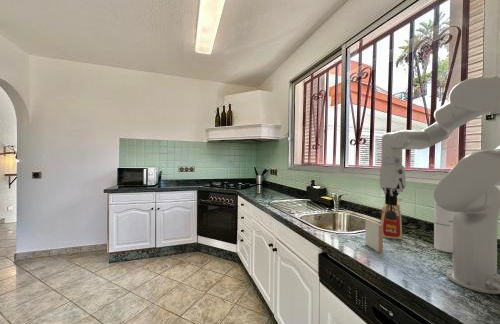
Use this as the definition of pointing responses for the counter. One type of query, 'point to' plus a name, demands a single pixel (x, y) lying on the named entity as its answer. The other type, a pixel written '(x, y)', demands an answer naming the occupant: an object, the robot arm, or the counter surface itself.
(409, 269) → the counter surface
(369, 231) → the tile
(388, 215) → the wooden tabletop sculpture
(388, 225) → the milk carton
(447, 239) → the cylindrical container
